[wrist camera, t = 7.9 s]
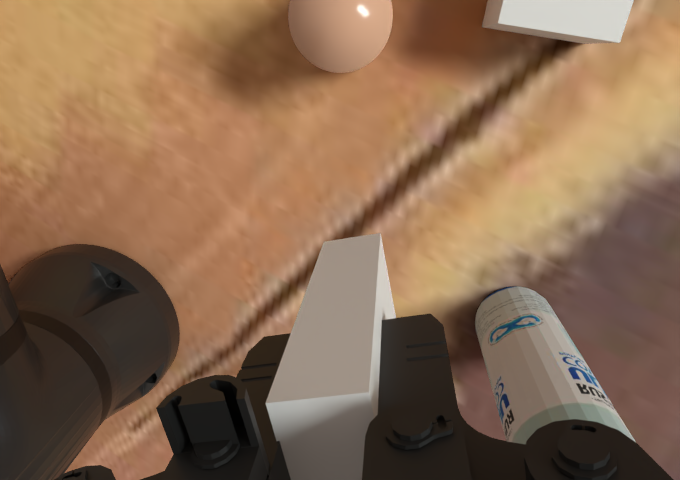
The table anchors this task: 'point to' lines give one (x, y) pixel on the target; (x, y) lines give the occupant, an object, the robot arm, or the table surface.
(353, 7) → the beige rounded smooth part
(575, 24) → the grey block
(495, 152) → the table surface
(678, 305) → the table surface
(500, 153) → the table surface
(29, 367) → the robot arm
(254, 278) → the table surface
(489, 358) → the spray paint can
